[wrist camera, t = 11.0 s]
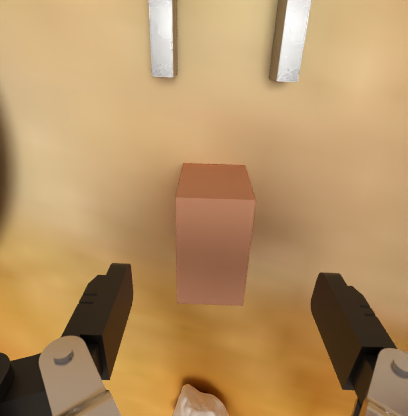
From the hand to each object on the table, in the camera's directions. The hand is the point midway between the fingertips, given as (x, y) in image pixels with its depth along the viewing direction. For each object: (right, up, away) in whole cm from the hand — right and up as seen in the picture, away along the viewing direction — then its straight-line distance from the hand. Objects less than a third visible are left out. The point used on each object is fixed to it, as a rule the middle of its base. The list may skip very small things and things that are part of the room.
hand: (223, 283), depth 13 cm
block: (0, +3, +11) cm, 11 cm away
